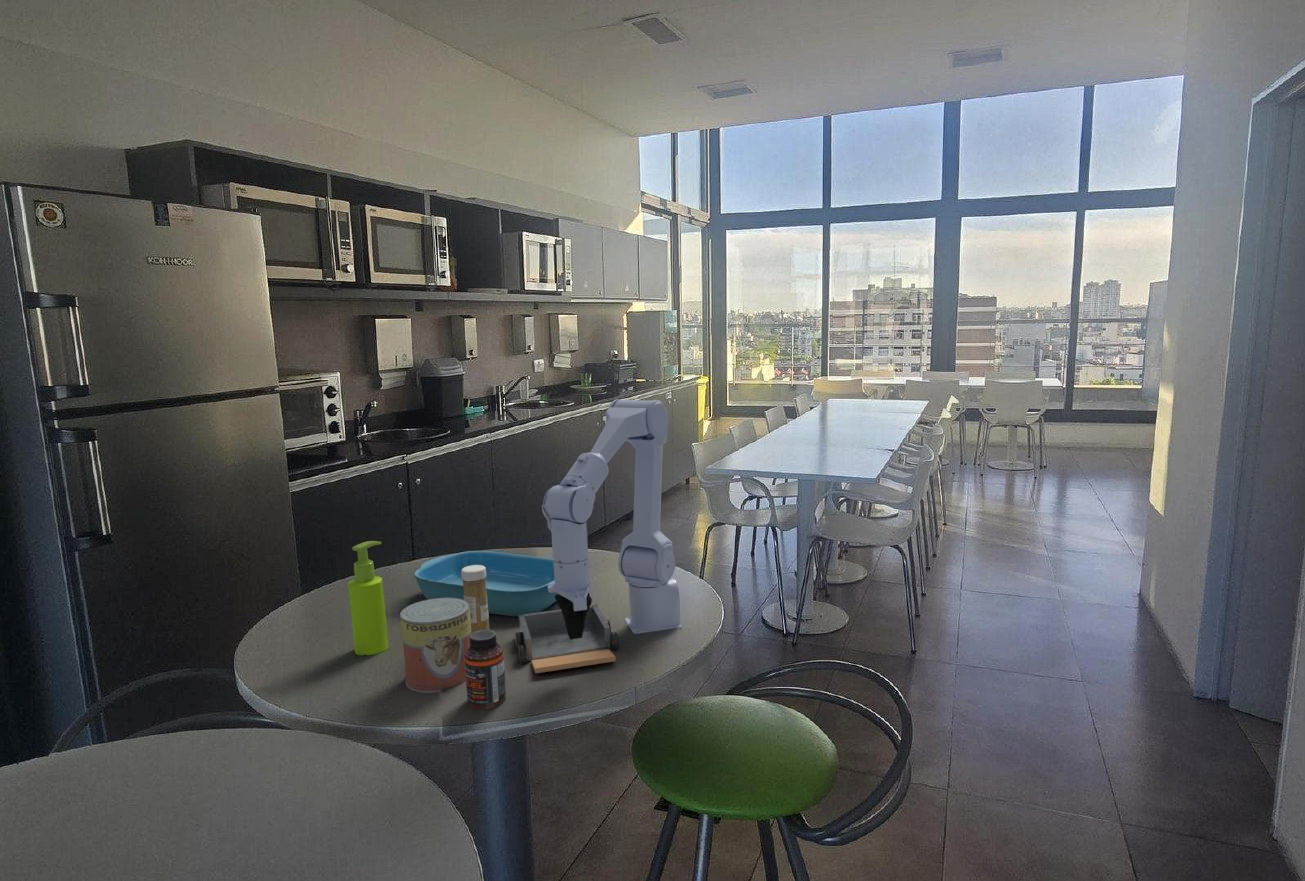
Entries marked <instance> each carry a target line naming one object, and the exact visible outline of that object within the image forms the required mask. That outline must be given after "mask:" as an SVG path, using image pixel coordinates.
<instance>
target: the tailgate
mask: <svg viewBox="0 0 1305 881" xmlns="http://www.w3.org/2000/svg"><path fill="white" fill-rule="evenodd" d="M616 661H617V659H616V656H615V654H614V653H613V652H612V650H611V649H605V650H598V651H592V652H585V653H578V654H571V655H565V656H558V657H551V658H545V659H538V660H531V661H530V662H531V666H532V669H533V671H534V673H535V674H540V673H546V672H553V671H560V670H561V671H562V670H567V669H572V668H573V669H574V668H580V667H587V666H592V665H598V664H599V665H600V664H605V663H606V664H607V663H611V662H612V663H613V662H616Z"/></svg>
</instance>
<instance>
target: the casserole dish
mask: <svg viewBox="0 0 1305 881" xmlns="http://www.w3.org/2000/svg"><path fill="white" fill-rule="evenodd" d="M471 565H482V566H484V567H485V568H486V592H487V601H488V613H489V614H493V615H499V616H506V617H507V616H508V617H517V618H519V615H523V614H530V613H538V612H543V611H544V610H545V609H547V608H549V607H550V606H552V605H553V604H554V602H555V603H557V601H556V599H555V595H557V594H558V593H556V592H553V593H550V592H549V591H548V585H553V584H555V580H554V564H553V558H548V557H541V556H534V555H533V556H532V555H523V554H515V553H510V552H508V553H507V552H499V551H492V550H491V551H488V550H487V551H486V550H467V551H462V552H458V553H457V552H456V553H452V554H449V555H442V556H439V557H435V558H432V559H429V560H426V561H425V562H423V563H422V564H420V567H419V568H418V569H417V570H416V571H414V575H413V576H414V578H415V579H416V581H417V585H418V586H419V589H420V591H421V593H422V594H423V596H424V597H425V598H426V600H428V599H434V598H459V599H463V600H464V589H463V581H462V576H461V570H462V569H463V568H464V567H467V566H471Z"/></svg>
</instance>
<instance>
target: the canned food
mask: <svg viewBox="0 0 1305 881" xmlns="http://www.w3.org/2000/svg"><path fill="white" fill-rule="evenodd" d="M399 618H400V626H401V637H402V647H403V659H404V660H403V661H404V670H405V671H404V672H405V685H406V687H407V689H409V690H411V691H413V692H417V693H423V694H433V693H434V694H436V693H437V694H438V693H442V692H443V689H447V688H451V687H454V686H457V685H460V684H462V683H464V682H466V672H465V657H464V655H465V651H466V649H467V648H468V647H469V646H470V635H471V621H470V604H469V603H468V602H467V601H465V600H463V599H459V598H434V599H424V600H420V601H416V602H414V603H412V604H410V605H407V606H406V607H404V608H403V609H402V610H401V611H400V613H399Z"/></svg>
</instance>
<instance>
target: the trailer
mask: <svg viewBox="0 0 1305 881" xmlns="http://www.w3.org/2000/svg"><path fill="white" fill-rule="evenodd" d="M518 624H519V625H518V626H519V628H518V629H519V631H518V632H515V633H514V635H515V636H514V639H515V647H516V650H517V651H518V659H519V662H520V663H519V664H520V665H521V664H522V665H523V664H528V662H532V661H531V660H538V659H545V658H551V657H558V656H565V655H571V654H578V653H585V652H592V651H598V650H605V649H609V650H611V651H616V650H619V646H620V645H619V637H618V634H617V632H616V631H612V628H611V623H610V620H609V619H606V618H605V616H604V614H603V613H602V611H601V609H600V607H599V606H598V604H593V605H592V604H591V605H590V607H589V609H588V612H587V615H586V619H585V624H584V631H583V636H582V638H577V639H570V638H569V636H568V633H567V630H566V626H565V621H564V617H563V614H562V611H561V609H554V610H548V611H547V610H545V611H540V612H538V613H530V614H523V615H519V617H518Z"/></svg>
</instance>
